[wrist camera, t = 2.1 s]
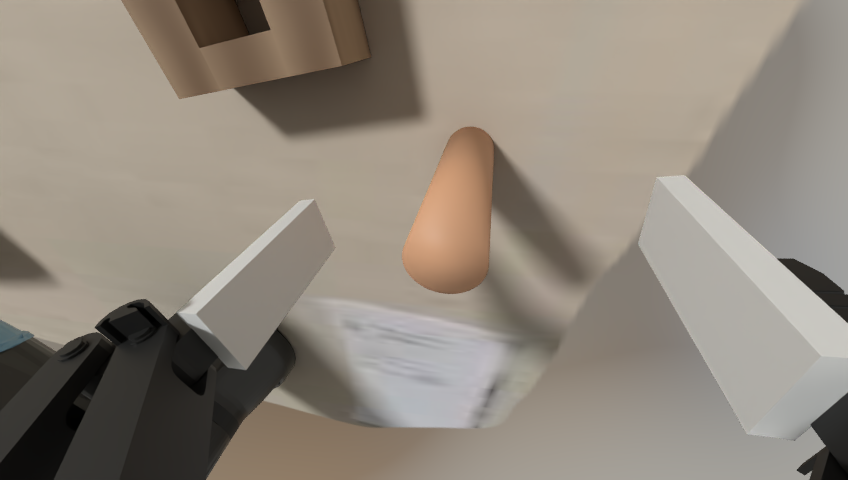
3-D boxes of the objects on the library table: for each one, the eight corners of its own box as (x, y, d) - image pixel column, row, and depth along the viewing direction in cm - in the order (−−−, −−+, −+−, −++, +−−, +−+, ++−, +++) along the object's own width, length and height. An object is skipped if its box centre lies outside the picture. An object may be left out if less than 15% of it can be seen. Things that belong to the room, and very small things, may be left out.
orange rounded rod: (449, 175, 20) (411, 293, 12) (443, 130, 19) (393, 228, 10) (495, 171, 19) (491, 294, 11) (492, 123, 18) (485, 224, 9)
